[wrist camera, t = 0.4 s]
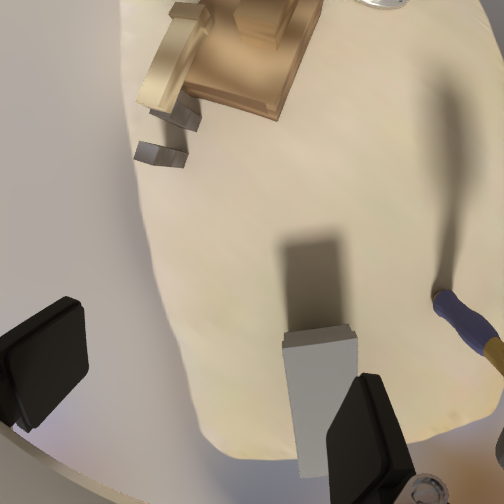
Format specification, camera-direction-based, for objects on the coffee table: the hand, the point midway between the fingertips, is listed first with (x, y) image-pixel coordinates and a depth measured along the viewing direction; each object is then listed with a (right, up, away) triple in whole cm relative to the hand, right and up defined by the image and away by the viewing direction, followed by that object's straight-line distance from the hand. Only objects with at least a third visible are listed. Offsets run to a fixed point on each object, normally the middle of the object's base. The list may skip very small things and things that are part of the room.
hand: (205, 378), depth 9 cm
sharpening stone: (+12, -15, +34) cm, 39 cm away
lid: (+1, +28, +16) cm, 33 cm away
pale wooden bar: (-6, +23, +16) cm, 29 cm away
